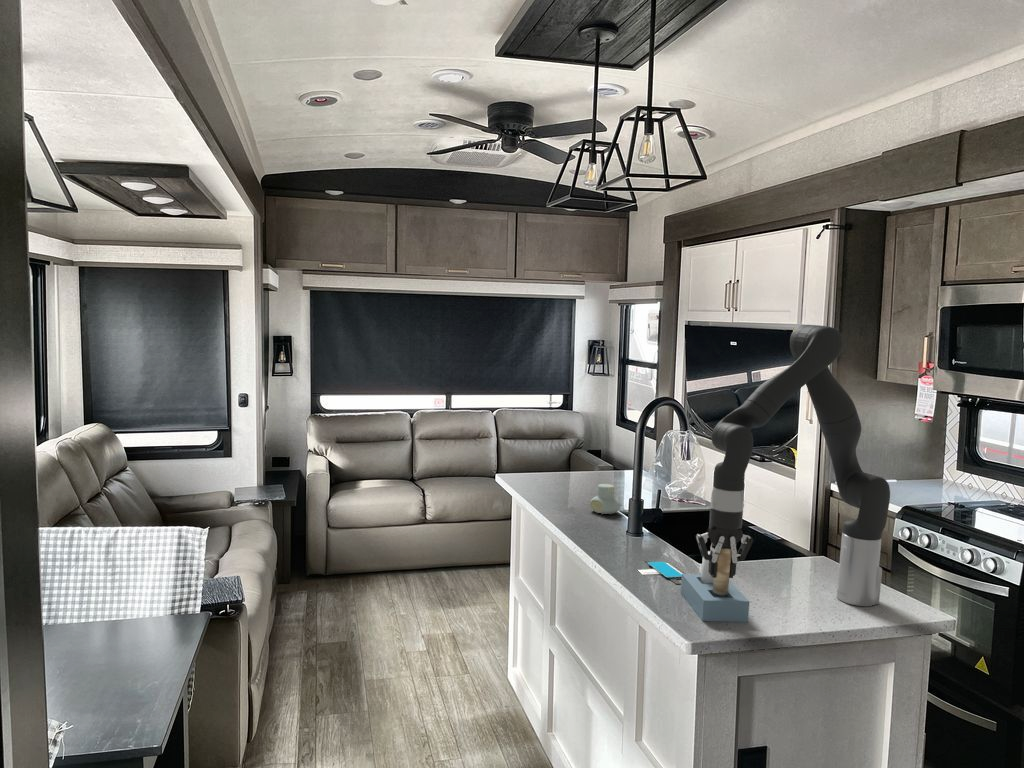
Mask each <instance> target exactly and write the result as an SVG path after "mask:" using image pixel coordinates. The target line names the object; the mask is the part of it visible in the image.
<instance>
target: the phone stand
mask: <svg viewBox="0 0 1024 768" xmlns="http://www.w3.org/2000/svg"><path fill="white" fill-rule="evenodd" d="M644 561H645V562H646V563H647V564H648V565H649V566H651V567H652V568H649V569H637V570H638V571H639V572H640V573H641V574H642V575H641V574H640V573H639V572H638V571H637V572H638V573H639V574H640V575H641V576H654V575H663V576H664V577H665V578H667V579H668V580H670V581H671V582H673V583H675V584H676V585H679V584H680V585H681V582H680V581H679V579H682V574H687V573H686V572H685V571H683V570H682V569H680V568H678V567H677V566H676V565H674V564H673V563H671V562H670V561H669V560H667V561H666V562H665V561H652V560H650V559H647V558H646V559H644Z"/></svg>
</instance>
